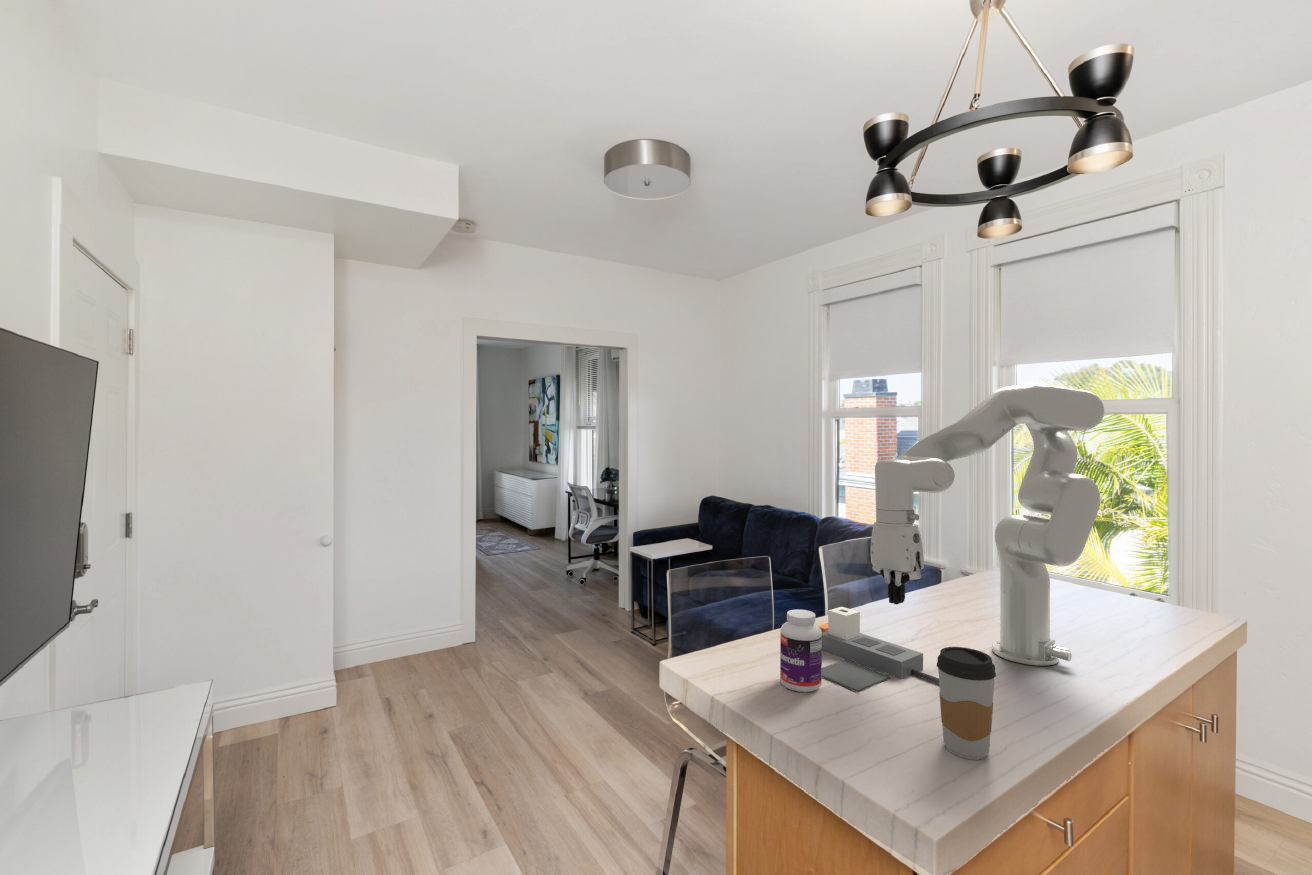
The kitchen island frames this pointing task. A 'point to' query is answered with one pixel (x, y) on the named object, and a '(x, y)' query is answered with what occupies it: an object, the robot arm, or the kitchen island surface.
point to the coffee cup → (966, 700)
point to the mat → (853, 675)
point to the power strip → (876, 654)
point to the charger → (844, 623)
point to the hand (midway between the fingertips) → (896, 602)
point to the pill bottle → (801, 652)
